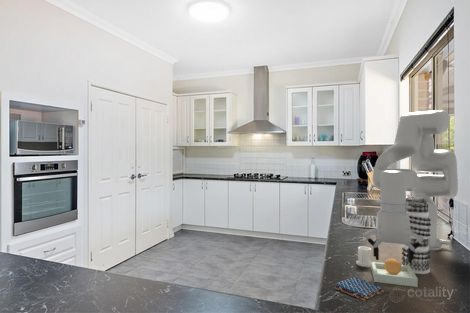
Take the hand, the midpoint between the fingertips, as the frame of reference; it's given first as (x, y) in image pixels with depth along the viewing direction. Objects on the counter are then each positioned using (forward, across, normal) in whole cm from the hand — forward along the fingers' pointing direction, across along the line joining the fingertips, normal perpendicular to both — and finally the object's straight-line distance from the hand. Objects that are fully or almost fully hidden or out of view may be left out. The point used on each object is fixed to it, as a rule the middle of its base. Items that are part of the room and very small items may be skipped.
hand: (393, 260), depth 103 cm
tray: (+5, 0, 0) cm, 5 cm away
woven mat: (+6, +11, +14) cm, 19 cm away
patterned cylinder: (+6, -8, -10) cm, 14 cm away
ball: (+4, 0, 0) cm, 4 cm away
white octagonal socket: (+6, +8, -10) cm, 14 cm away
